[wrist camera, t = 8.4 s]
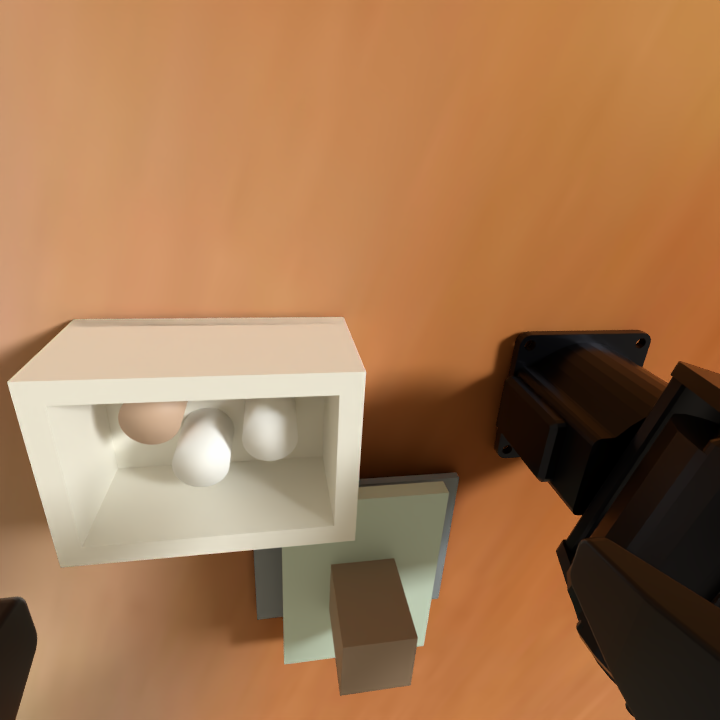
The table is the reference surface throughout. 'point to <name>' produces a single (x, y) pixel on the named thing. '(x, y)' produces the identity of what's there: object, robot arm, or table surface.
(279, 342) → the caddy
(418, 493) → the lid
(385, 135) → the table surface
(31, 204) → the table surface
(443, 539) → the mat
